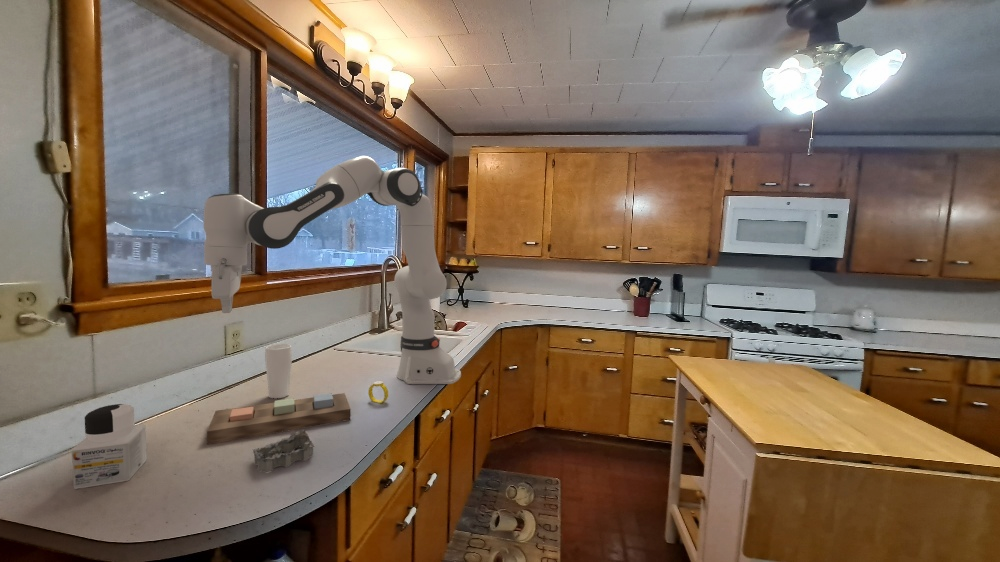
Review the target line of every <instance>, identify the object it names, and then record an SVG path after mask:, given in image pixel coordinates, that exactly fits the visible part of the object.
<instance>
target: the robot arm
mask: <svg viewBox="0 0 1000 562" xmlns="http://www.w3.org/2000/svg"><path fill="white" fill-rule="evenodd" d="M365 195H368V196H369V198H370V199H371V200H372V201H373V202H374V203H376V204H377V205H380V206H383V207H386V206H387V207H389V206H396V207H397V209H398V211H399V214H400V232H401V233H400V235H401V239H400V240H401V251H402V252H403V253H404V255H405V258H406V261H407V265H406V266H403V267H401V268H399V269H398V270H397V271H396V273H395V275H394V279H393V281H394V285H395V287H396V288H397V292H398V296H399V301H400V307H401V315H402V327H401V328H402V334H401V337H400V346H399V347H400V352H401V353H400V360H399V365H398V370H397V373H396V377H397V378H398V379H399V380H401V381H403V382H404V383H405V384H407V385H453V384H454V383H457V382H458V381H459V380H460V379H461V377H462V371H461V370H460V369H458V368H456V365H455V360H454V358H453V356H451V354H449V353H448V352H446V351H445V350H444V349H443V348H442V347H440V344H441V343H440V342H441V338H440V337H439V338H438V337H437V336H436V335H435V320H436V319H435V312H434V310H433V308H432V306H431V302H430V300H434V299H435V300H436V299H438V298H440V297H442V296H443V294H445V292H446V289H447V286H448V285H447V284H448V281H447V278H446V276H445V274H444V273H443V272H442V270H441V268H440V264H439V261H438V258H437V253H436V247H435V228H434V214H433V208H432V205H431V204H432V203H431V200H430V198H429V197H428V195H425V194H424V193H423V189H422V186H421V181H420V179H419V177H418V175H417V174H416V172H414V171H413V170H411V169H409V168H406V167H396V168H393V169H388V170H385V171H384V170H382V168H380V166H379V164H378V163H377V162H376V160H374V159H373V158H371V157H369V156H367V155H360V156H357V157H354V158H350V159H348V160H345V161H343V162H340V163H338V164H337V165H335V166H333V167H331V168H329V169H328V170H326V171H325V172H324V173H323V174H321V175H320V176H319V177H318V178H317V180H316V182H315V187H314V188H313V189H312V190H310V191H309V192H307V193H305V194H304V195H302V196H300V197H298V198H297V199H295V200H293V201H292V202H290V203H288V204H285V205H282V206H281V205H279V206H269V207H262V206H260V205H258V204H256V203H254V202H252V201H250V200H248V199H247V198H245V197H244V196H243V195H242V194H239V193H219V194H213V195H211V196H209V197H208V198H207V199H206V200H205V203H204V209H203V231H204V233H205V241H204V243H203V253H204V254H203V257H204V259H203V261H204V266H205V265H206V266H210V272H211V285H210V286H211V287H210V288H211V298H212V299H213V300H220V304H221V313H223V314H229V313H231V312H233V311H232V310H233V300H234V295H235V294H236V293H237V292H238V291H239V290H240V288H241V280H242V270H243V266H248V244H249V243H252V244H255V245H258V246H261V247H264V248H266V249H273V250H274V249H276V250H277V249H278V250H279V249H282V248H285V247H287V246H288V245H290V244H291V243H292V242H293V241H294V240H295V238H296V237H297V235H298V234H299V232H300V231H301V229H303V227H304V226H306V225H307V224H309V223H310V222H312V221H313V220H315V219H317V218H318V217H321V216H322V215H323V214H324V213H327V212H329V211H331V210H334V209H338V208H341V207H344V206H345V207H346V206H347V205H350V204H352V203H354V202H356V201H357V200H359V199H360V198H362V197H363V196H365Z"/></svg>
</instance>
